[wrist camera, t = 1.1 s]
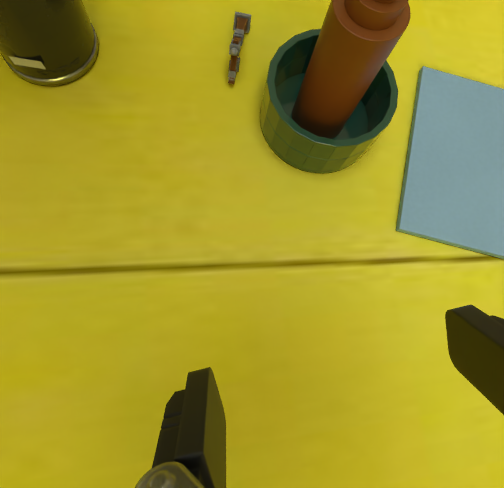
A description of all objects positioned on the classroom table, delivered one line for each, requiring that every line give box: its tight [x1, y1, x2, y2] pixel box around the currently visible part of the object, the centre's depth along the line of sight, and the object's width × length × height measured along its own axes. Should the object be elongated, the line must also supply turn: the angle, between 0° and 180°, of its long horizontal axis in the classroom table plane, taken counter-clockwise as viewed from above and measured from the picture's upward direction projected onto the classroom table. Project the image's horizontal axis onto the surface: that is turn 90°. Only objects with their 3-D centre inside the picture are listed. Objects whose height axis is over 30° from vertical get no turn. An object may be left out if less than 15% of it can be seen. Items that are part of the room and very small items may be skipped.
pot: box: [260, 29, 398, 173], centre depth 37 cm, size 12×12×6 cm
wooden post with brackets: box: [228, 12, 251, 84], centre depth 40 cm, size 2×8×4 cm, turn 172°
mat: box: [396, 66, 504, 259], centre depth 41 cm, size 20×20×1 cm
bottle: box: [292, 0, 410, 139], centre depth 31 cm, size 6×6×18 cm
